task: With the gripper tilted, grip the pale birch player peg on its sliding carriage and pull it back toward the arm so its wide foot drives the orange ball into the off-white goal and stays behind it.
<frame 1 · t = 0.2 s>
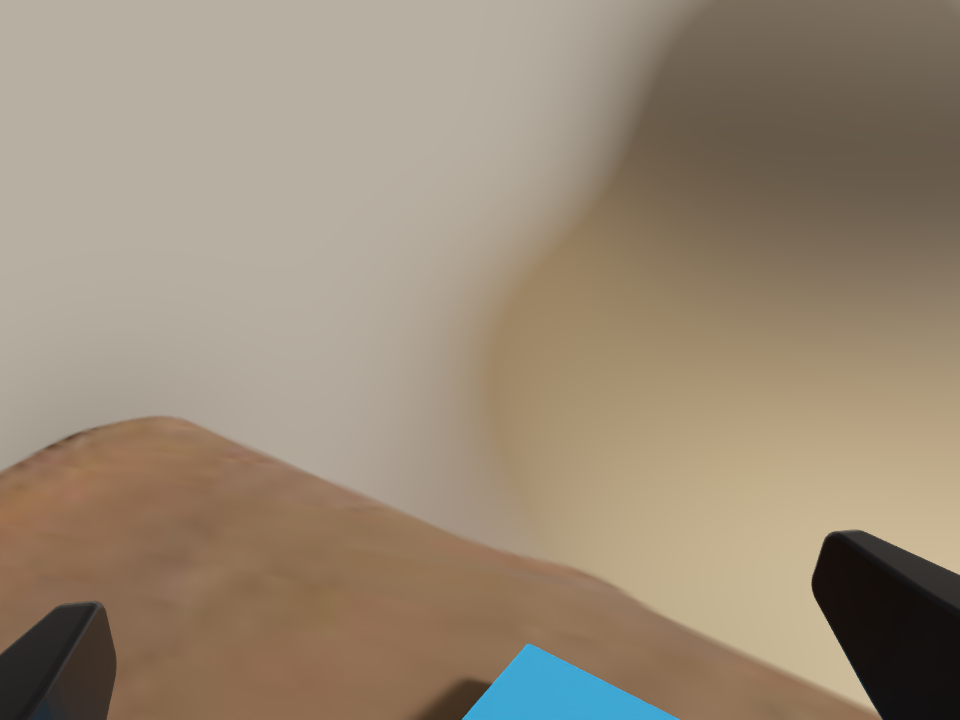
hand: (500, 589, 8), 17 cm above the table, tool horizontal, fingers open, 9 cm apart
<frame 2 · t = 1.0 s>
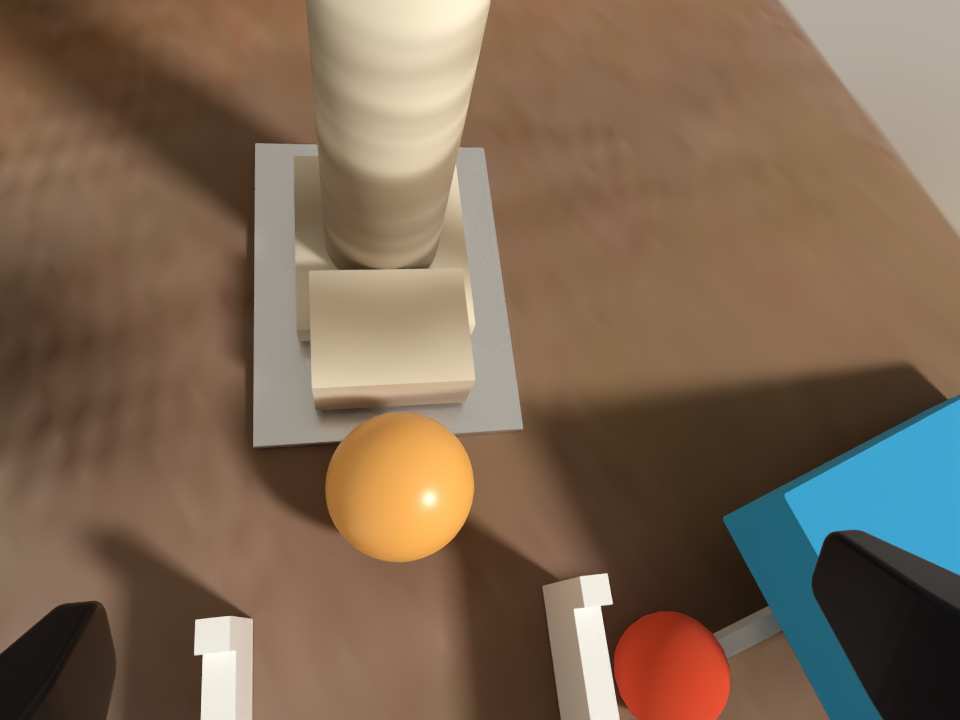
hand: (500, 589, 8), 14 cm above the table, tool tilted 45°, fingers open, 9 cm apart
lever: (822, 571, 24), on the table
ball: (400, 485, 20), point 2 cm above the table
grey rectangular plate: (380, 259, 25), on the table
beige peg stand: (392, 163, 18), point 7 cm above the table, slide at 0.0 cm
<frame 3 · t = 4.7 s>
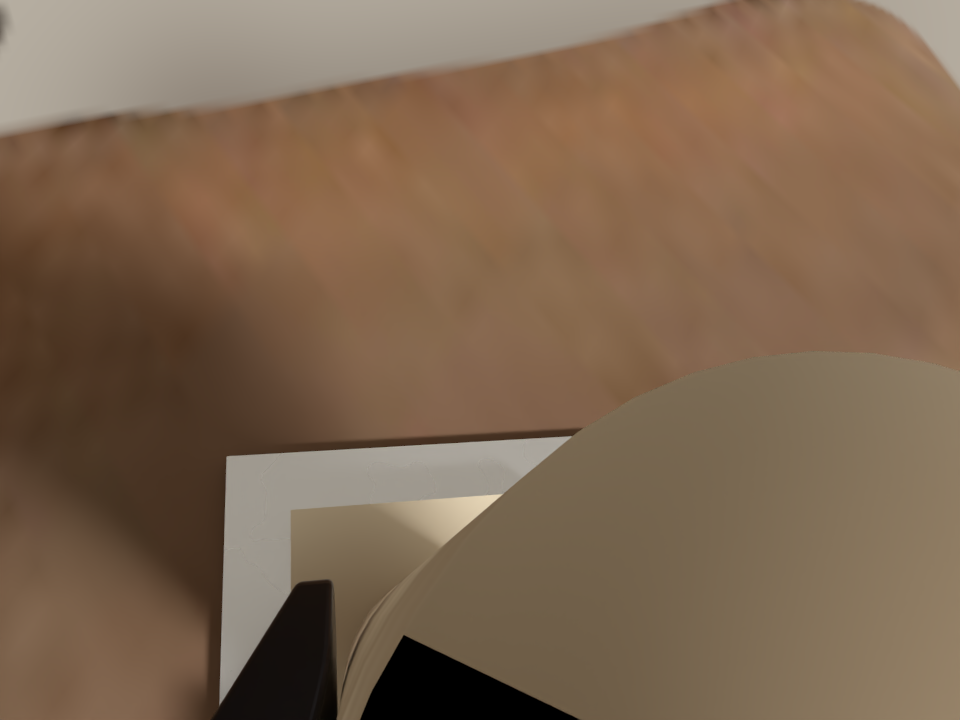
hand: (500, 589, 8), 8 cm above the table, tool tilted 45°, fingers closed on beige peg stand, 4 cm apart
grey rectangular plate: (438, 671, 15), on the table
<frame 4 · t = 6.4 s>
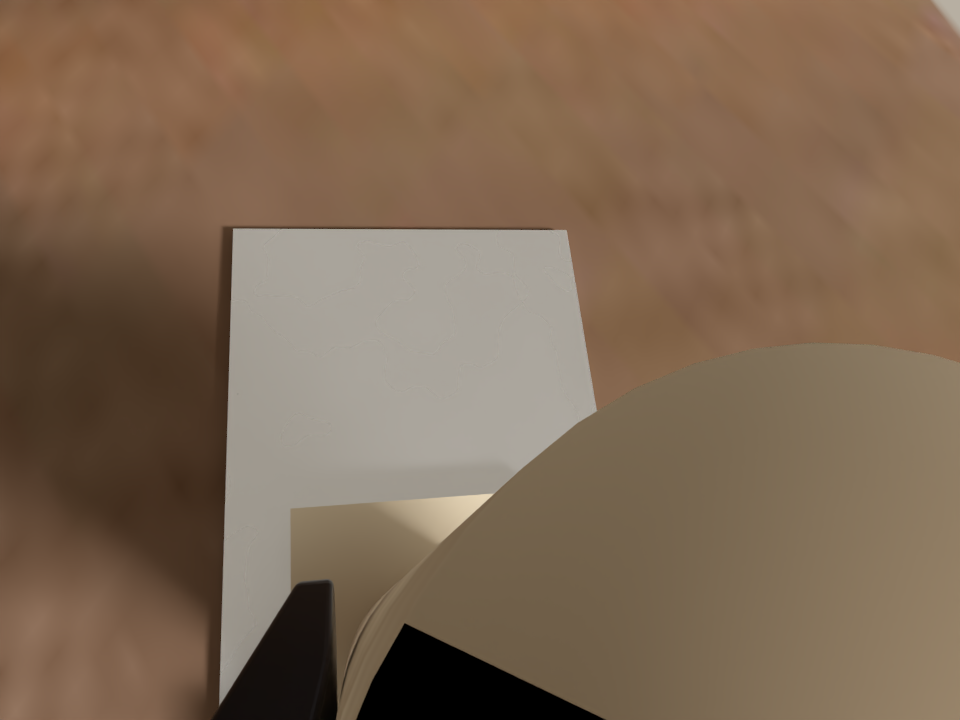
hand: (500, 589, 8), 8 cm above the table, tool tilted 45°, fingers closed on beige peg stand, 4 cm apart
grey rectangular plate: (419, 409, 17), on the table
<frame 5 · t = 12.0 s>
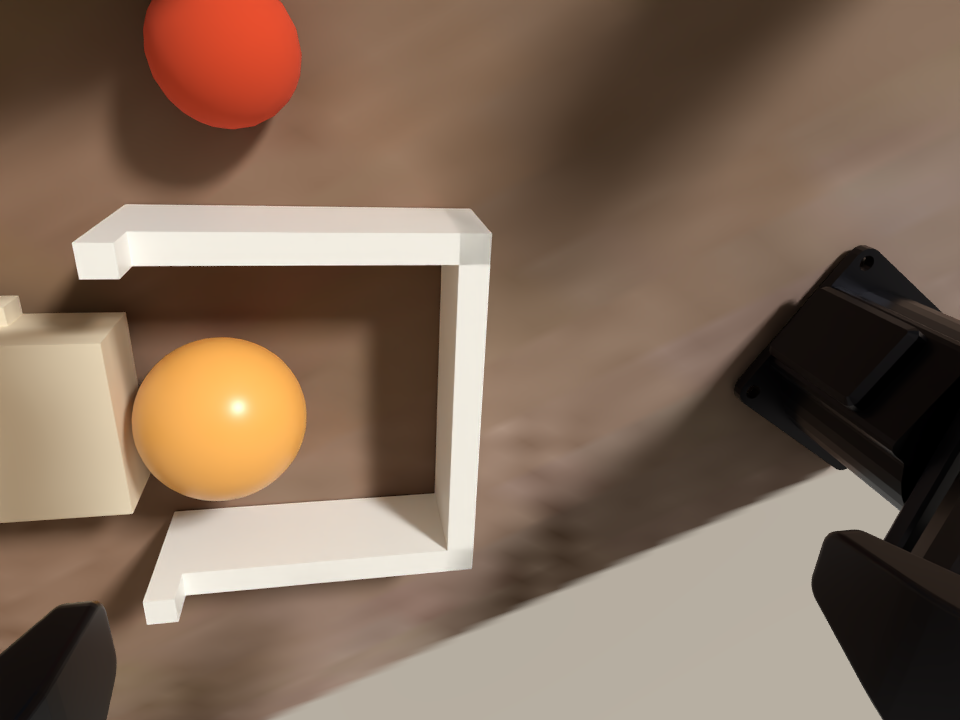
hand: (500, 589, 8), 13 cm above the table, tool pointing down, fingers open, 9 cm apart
goal: (308, 380, 21), on the table
ball: (222, 418, 18), point 2 cm above the table, tilted 140°
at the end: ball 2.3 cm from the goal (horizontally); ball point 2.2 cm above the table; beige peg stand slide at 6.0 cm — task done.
